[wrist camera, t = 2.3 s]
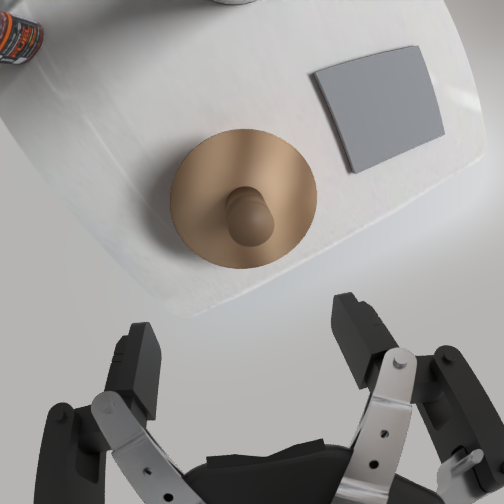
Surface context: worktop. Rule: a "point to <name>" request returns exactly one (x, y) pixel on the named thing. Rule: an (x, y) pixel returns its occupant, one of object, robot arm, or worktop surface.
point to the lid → (243, 199)
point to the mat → (381, 105)
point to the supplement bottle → (18, 38)
